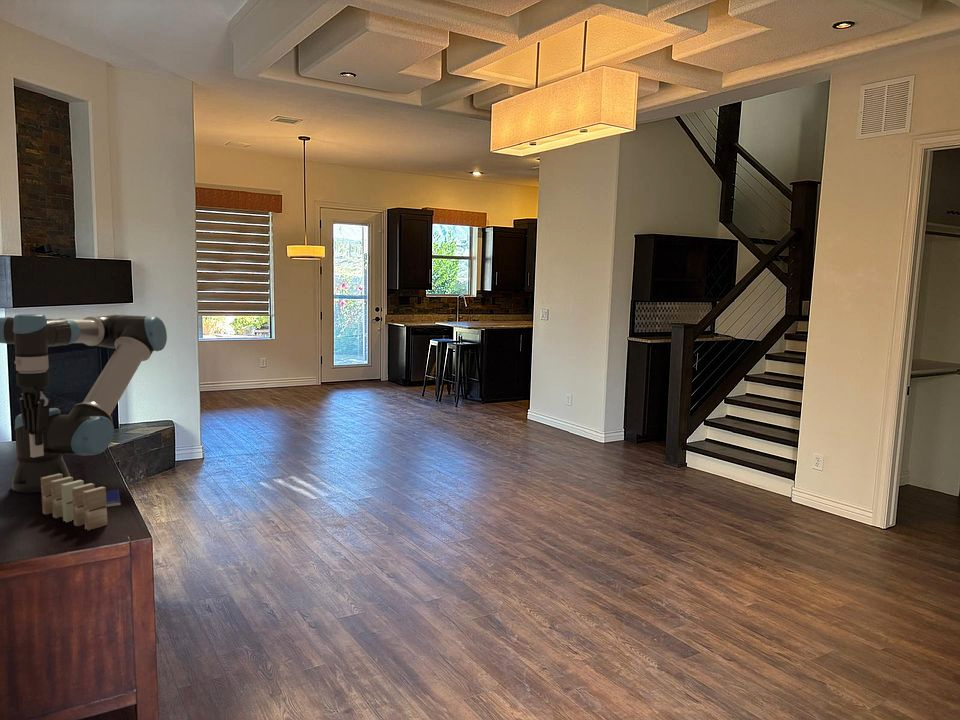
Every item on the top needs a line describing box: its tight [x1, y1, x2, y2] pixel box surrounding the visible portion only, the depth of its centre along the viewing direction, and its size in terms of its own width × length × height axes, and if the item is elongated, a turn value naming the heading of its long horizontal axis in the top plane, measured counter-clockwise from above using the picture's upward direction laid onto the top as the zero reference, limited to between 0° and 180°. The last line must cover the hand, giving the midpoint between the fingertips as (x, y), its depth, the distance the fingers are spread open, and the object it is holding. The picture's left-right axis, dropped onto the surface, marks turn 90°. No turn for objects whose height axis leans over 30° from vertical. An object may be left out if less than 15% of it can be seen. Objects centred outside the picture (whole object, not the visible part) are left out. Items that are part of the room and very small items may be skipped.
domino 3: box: [61, 479, 85, 523], centre depth 186 cm, size 2×5×10 cm, turn 149°
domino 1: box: [40, 473, 63, 515], centre depth 191 cm, size 2×5×10 cm, turn 149°
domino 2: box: [51, 476, 74, 519], centre depth 189 cm, size 2×5×10 cm, turn 149°
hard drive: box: [106, 489, 122, 508], centre depth 202 cm, size 2×8×12 cm
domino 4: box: [72, 482, 96, 527], centre depth 184 cm, size 2×5×10 cm, turn 149°
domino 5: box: [83, 486, 108, 531], centre depth 181 cm, size 2×5×10 cm, turn 149°
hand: (37, 456), depth 193 cm, fingers closed
